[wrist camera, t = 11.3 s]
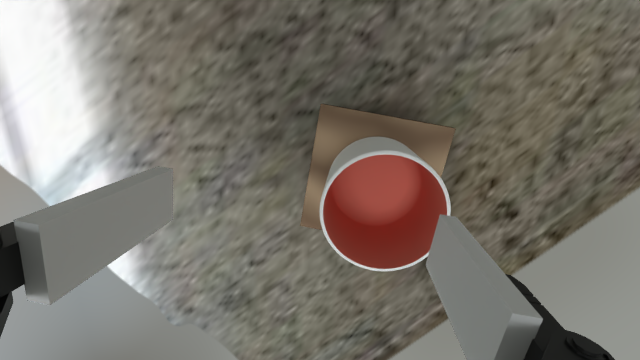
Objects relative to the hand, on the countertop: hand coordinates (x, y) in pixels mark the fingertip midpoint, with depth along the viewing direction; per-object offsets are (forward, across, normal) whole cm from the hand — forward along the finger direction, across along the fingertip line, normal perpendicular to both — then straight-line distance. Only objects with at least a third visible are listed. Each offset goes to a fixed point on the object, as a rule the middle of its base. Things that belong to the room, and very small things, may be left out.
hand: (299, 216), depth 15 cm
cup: (+19, +6, -3) cm, 20 cm away
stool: (+26, +5, -3) cm, 27 cm away
